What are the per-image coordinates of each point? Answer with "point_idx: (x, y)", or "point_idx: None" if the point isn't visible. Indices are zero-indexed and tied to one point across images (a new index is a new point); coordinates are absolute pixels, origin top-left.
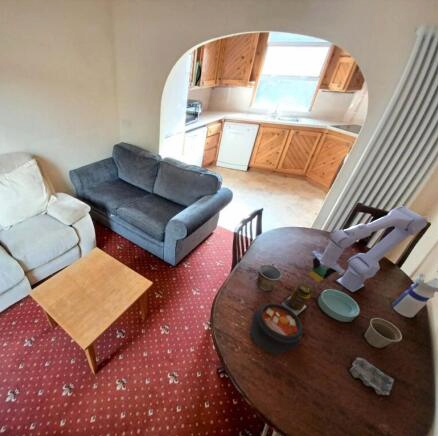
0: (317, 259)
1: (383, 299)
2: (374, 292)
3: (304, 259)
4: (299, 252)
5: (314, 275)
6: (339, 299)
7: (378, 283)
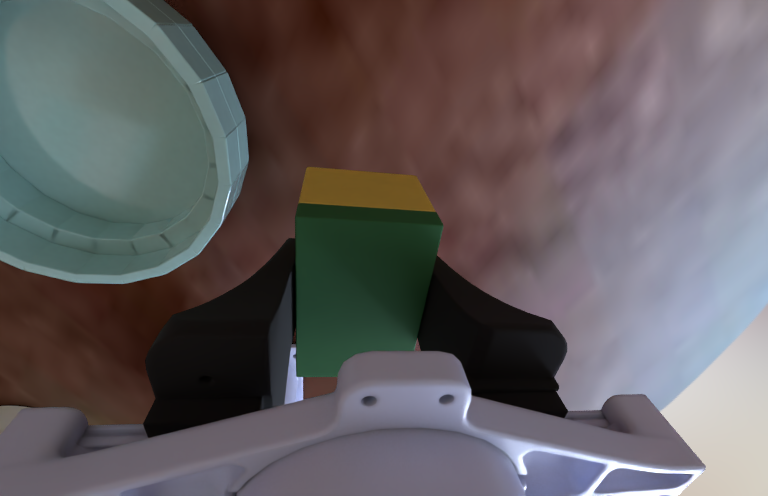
0: (514, 396)
1: (108, 418)
2: None
3: None
4: None
5: (376, 190)
6: (159, 223)
7: None
